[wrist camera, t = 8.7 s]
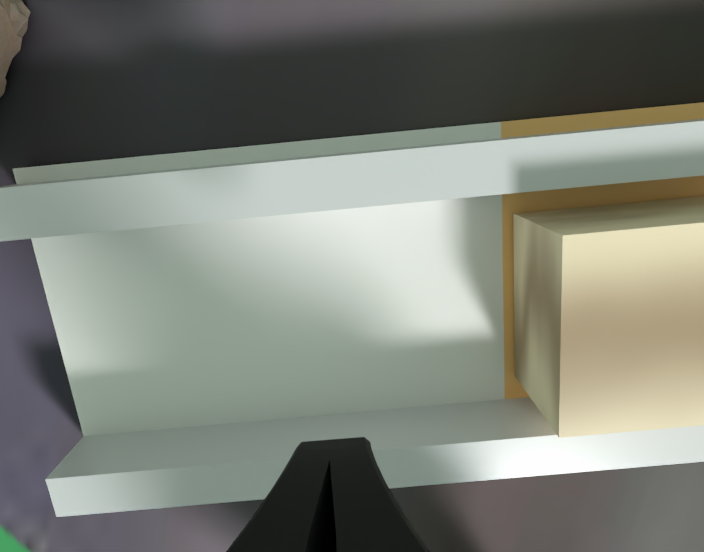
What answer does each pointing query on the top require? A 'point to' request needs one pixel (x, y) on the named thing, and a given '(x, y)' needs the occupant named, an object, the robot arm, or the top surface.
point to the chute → (323, 302)
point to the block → (611, 315)
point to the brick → (11, 34)
